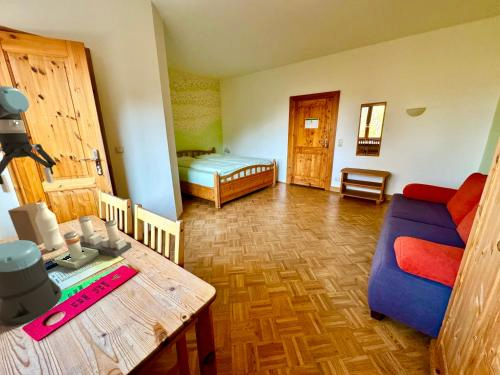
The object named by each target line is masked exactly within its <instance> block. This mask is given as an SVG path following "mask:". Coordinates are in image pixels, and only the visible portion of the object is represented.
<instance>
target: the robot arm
mask: <svg viewBox="0 0 500 375" xmlns="http://www.w3.org/2000/svg"><path fill="white" fill-rule="evenodd" d="M29 107H30V102H29V99H28V98H27V96H26V94H25V93H23V91H21V90H20V89H18V88H16V87H13V86H4V85H3V86H2V85H0V153H4V155H3V156H2V158H1V160H0V187H1V189H2V191H3V193H8V194H9V193H11V192H12V191H11V189H10V186H9V183H8V181H7V177H6V175H5V174H3V172H4V171H5V170H6V168H7V167H8V166H9V164H10V162H12V160H13V159H18V158H27V157H28V158H31V159H32V160H34V161H35V162H37V163H38V164H41V165H42V166H43V167H42V170H43V172H44V176H45V178H46V182H47V183H49V184H54V183H55V181H54V179H53V175H54V171H53V168H54V166H56V165H57V162H56V161H55V160H54V159H53V158H52V157H51V156H50V155H49V154H48V153H47V152H46V151H45V150H44V149H43V147H42V145H41V144H40V143H34V144H31V143H30V138H29V135H28V133H27V128H26V126H25V123H24V120H23V118H22V113H25V112H27V111H28V109H29ZM33 150H35V151H36V152H37V153H38V154H39V155H40V156H39V155H37V154H36V153H34V152H32V151H33ZM38 246H39V245H36V244H35V243H34V242H32V241H27V240H19V239H18V240H13V241H8V242H3V243H0V325H2V326H4V327H5V326H6V327H12V326H14V327H15V326H19V325H22V324H25V323H27V322H30V321H33V320H34V319H36V318H39V317H40V316H42V315H44V314H45V313H47V312H48V311H49V310H51V309H52V308H54V307H55V306H56V305H57V304H58V303H59V302H60V300H61V299H62V296H63V292H62V288H61V287H60V286H59V285H58V283H56V282H55V281H53V279H51V278H50V276H49V273H48V270H47V268H46V265H45V262H44V258H43V256H42V252H41V250H40V248H39V247H38Z"/></svg>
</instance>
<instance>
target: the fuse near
mask: <svg viewBox="0 0 500 375" xmlns="http://www.w3.org/2000/svg"><path fill="white" fill-rule="evenodd" d="M104 226H105V229H106V234H107V237H108V238H109V242H110V248H112V249H114V248H116V246H115V242H117V241H119V240H120V239H121V238H120V233H119V230H118V224H117V220H116V219H110V220H107V221H105V222H104Z"/></svg>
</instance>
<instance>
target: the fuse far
mask: <svg viewBox="0 0 500 375" xmlns="http://www.w3.org/2000/svg"><path fill="white" fill-rule="evenodd" d="M77 220H78V223H79V226H80V229H81V232H82V233H81V234H83V236H84V241H85V243H90V242H89V237H91V236H93V235H95V232H94V227H93V224H92V220H91V216H89V215H85V216H82V217H79V218H78V219H77Z"/></svg>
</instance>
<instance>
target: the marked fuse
mask: <svg viewBox="0 0 500 375" xmlns="http://www.w3.org/2000/svg"><path fill="white" fill-rule="evenodd" d="M78 236H79V235H78V231H77V230H76V231H75V230H73V231H68V232H66V233H64V234H63V239H64V242H65V244H66V247H67V250H68V251H69V254H70V257H71V261H72V262H76V261H79V260H81V259H83V258H84V255H83V252H82V249H81V245H80V240H79V237H78Z"/></svg>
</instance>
